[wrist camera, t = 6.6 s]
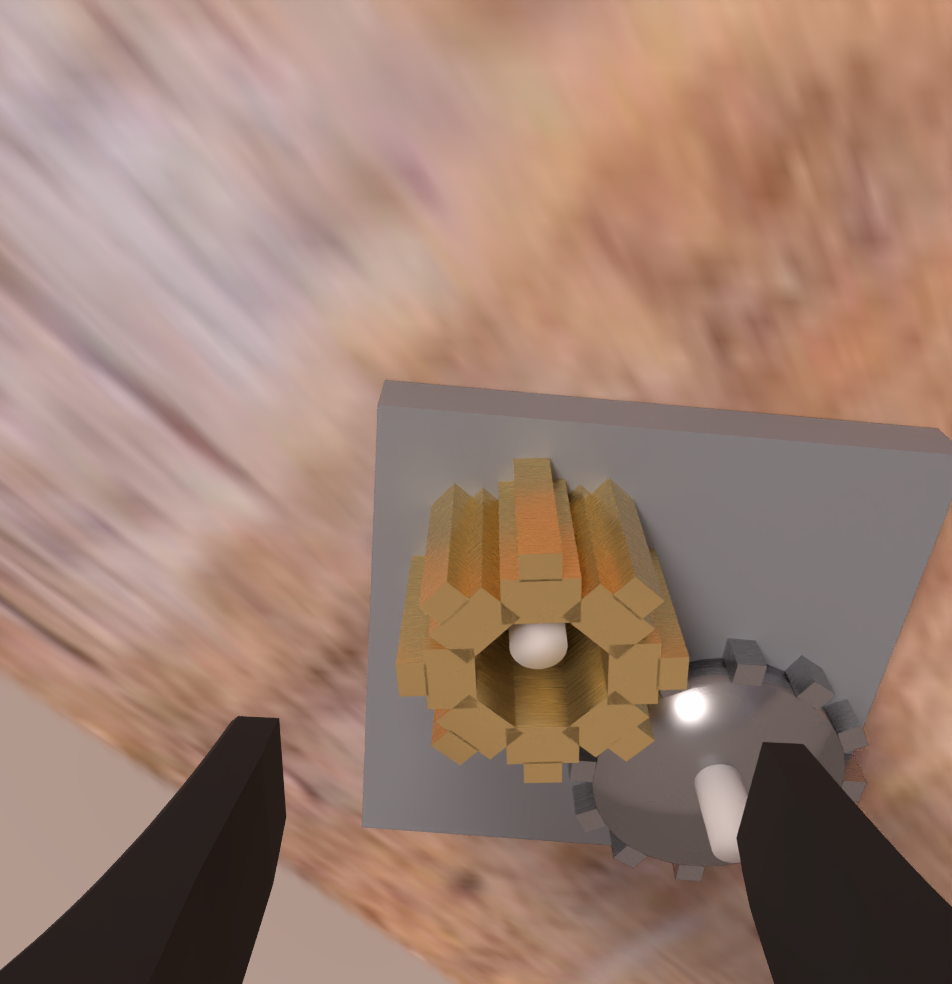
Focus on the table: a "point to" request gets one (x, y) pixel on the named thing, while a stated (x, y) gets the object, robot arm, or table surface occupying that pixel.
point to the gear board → (682, 556)
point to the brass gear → (532, 600)
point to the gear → (712, 753)
